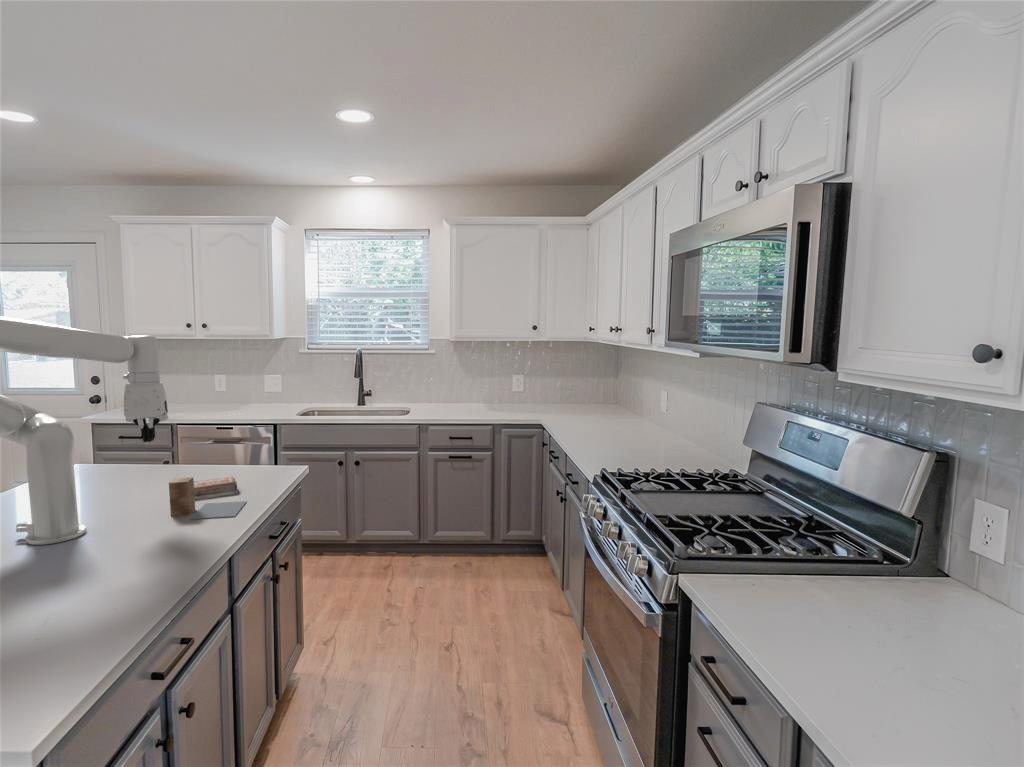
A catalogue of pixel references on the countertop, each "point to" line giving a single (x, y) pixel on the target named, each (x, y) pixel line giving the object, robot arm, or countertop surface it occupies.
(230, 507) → the rubber mat
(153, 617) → the countertop surface
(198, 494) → the packaged product
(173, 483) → the walnut block
